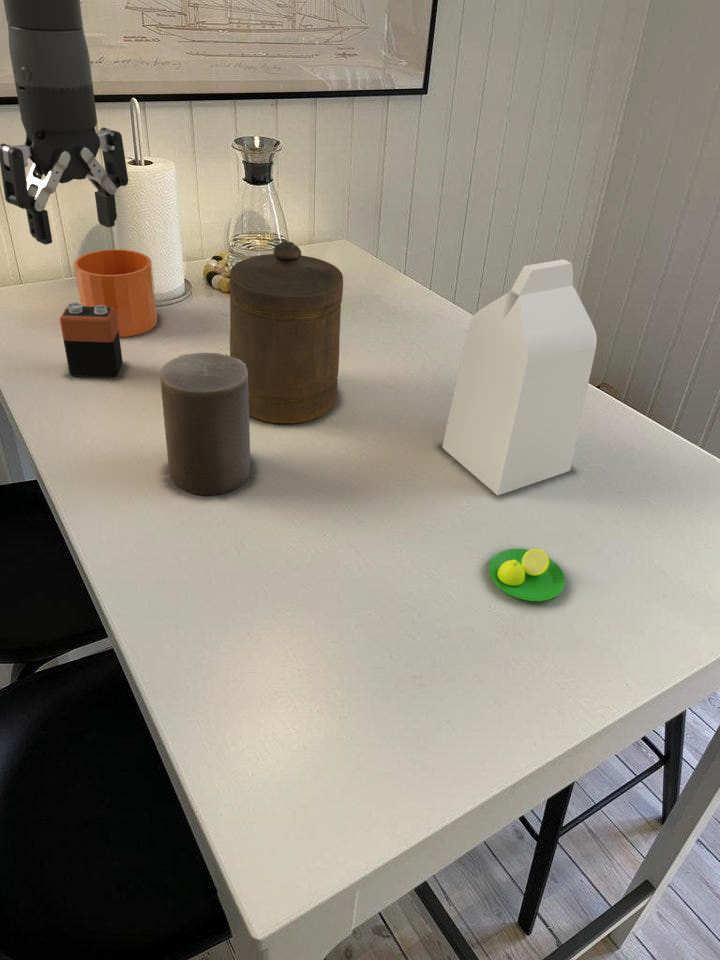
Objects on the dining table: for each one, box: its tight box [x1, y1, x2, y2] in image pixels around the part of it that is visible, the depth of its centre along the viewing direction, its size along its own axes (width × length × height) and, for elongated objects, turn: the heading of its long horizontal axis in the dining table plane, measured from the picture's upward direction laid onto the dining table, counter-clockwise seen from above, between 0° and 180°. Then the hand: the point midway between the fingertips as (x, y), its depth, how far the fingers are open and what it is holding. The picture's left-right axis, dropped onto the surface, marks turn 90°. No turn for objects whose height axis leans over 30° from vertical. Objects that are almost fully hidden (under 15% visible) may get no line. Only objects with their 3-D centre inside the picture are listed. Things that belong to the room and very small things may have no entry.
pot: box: [73, 248, 158, 338], centre depth 120 cm, size 11×11×10 cm
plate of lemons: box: [488, 547, 566, 602], centre depth 79 cm, size 8×8×3 cm
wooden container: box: [229, 241, 344, 424], centre depth 100 cm, size 15×15×22 cm
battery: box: [59, 301, 124, 378], centre depth 106 cm, size 4×7×10 cm, turn 93°
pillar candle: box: [159, 352, 252, 496], centre depth 87 cm, size 10×10×15 cm
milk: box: [441, 258, 598, 496], centre depth 90 cm, size 12×12×26 cm
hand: (76, 233), depth 87 cm, fingers open, 8 cm apart
